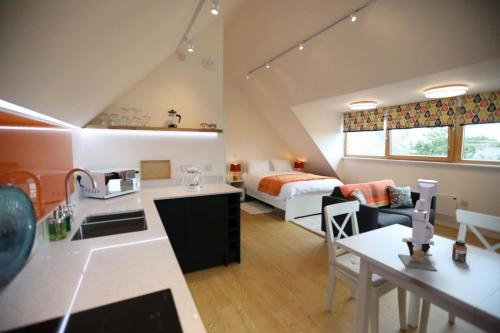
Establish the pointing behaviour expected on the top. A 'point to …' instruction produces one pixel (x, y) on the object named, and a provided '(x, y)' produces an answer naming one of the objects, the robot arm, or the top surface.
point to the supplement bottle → (459, 251)
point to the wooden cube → (418, 254)
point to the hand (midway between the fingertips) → (416, 255)
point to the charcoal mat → (416, 263)
